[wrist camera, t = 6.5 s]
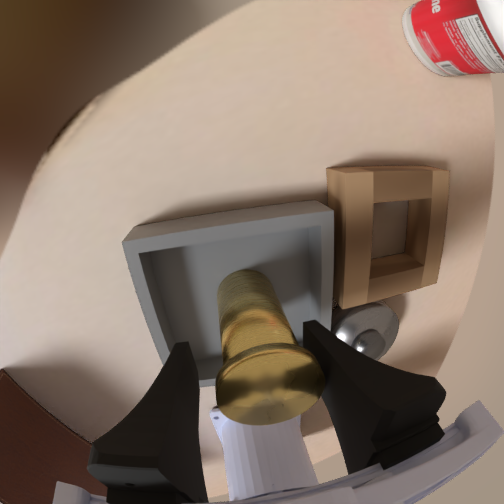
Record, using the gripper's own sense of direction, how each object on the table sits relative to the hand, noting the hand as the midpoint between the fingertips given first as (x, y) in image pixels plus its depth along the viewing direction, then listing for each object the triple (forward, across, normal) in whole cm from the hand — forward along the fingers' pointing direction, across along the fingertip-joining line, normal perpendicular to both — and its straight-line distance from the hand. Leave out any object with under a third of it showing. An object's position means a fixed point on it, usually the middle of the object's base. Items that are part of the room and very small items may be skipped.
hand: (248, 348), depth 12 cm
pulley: (+5, -8, +5) cm, 11 cm away
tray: (+5, 0, 0) cm, 5 cm away
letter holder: (+6, +26, +17) cm, 31 cm away
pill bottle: (+5, -16, -17) cm, 24 cm away
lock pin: (+5, 0, 0) cm, 5 cm away
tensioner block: (+5, -10, -3) cm, 12 cm away
